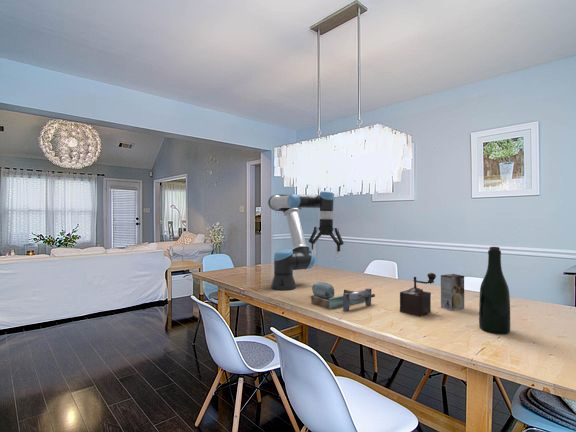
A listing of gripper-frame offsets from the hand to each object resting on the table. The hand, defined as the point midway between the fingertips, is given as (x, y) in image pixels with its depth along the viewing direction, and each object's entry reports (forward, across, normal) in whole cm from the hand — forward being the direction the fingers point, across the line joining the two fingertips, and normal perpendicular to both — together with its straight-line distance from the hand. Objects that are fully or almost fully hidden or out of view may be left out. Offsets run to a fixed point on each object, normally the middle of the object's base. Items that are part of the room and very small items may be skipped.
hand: (325, 256), depth 182 cm
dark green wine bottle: (+20, +80, -20) cm, 84 cm away
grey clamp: (+21, +24, -14) cm, 35 cm away
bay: (+22, +12, -10) cm, 26 cm away
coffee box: (+21, +64, +6) cm, 68 cm away
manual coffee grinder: (+21, +50, -7) cm, 55 cm away
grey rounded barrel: (+22, +1, -4) cm, 23 cm away
